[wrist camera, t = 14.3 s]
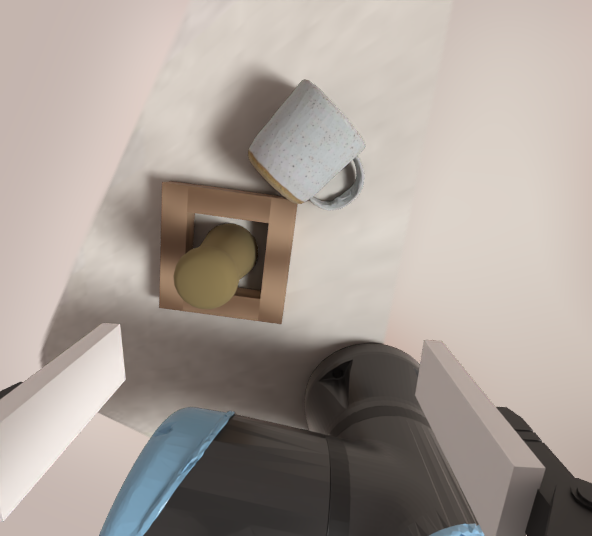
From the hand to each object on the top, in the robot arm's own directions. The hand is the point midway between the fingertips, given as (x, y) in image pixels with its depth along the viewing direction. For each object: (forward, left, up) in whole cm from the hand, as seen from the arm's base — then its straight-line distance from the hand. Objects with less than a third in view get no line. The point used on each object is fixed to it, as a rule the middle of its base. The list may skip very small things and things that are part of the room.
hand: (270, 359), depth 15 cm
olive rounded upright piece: (-2, +6, -23) cm, 24 cm away
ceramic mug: (+9, -1, -23) cm, 25 cm away
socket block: (-2, +6, -23) cm, 24 cm away
